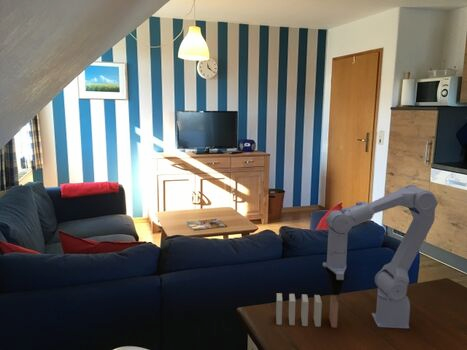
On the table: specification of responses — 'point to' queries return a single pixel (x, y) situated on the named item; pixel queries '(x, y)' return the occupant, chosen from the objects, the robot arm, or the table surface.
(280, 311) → the ivory domino
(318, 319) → the ivory domino
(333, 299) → the terracotta domino
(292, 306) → the ivory domino
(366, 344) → the table surface
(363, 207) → the robot arm
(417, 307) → the table surface
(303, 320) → the ivory domino
